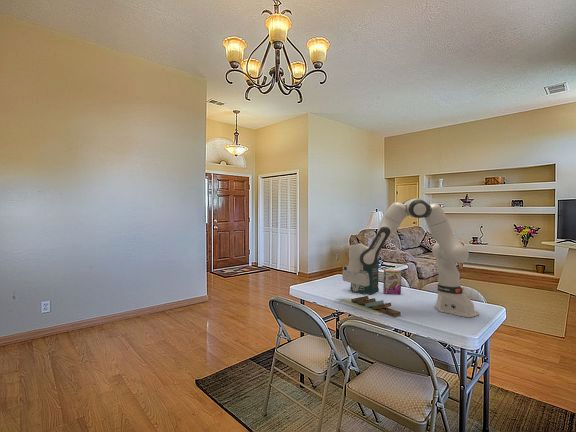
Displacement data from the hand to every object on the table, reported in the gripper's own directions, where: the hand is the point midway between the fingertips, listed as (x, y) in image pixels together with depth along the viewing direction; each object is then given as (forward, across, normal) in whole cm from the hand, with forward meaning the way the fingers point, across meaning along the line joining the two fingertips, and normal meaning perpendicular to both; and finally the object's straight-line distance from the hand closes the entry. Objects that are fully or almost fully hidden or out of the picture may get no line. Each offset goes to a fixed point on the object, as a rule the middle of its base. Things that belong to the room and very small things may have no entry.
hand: (355, 290), depth 192 cm
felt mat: (+8, -9, 0) cm, 12 cm away
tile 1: (+6, -21, 0) cm, 22 cm away
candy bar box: (+8, +2, -38) cm, 39 cm away
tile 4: (+6, -4, 0) cm, 8 cm away
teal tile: (+6, -10, 0) cm, 12 cm away
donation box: (+8, +16, -24) cm, 30 cm away
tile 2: (+6, -16, 0) cm, 17 cm away
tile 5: (+6, +1, 0) cm, 6 cm away
